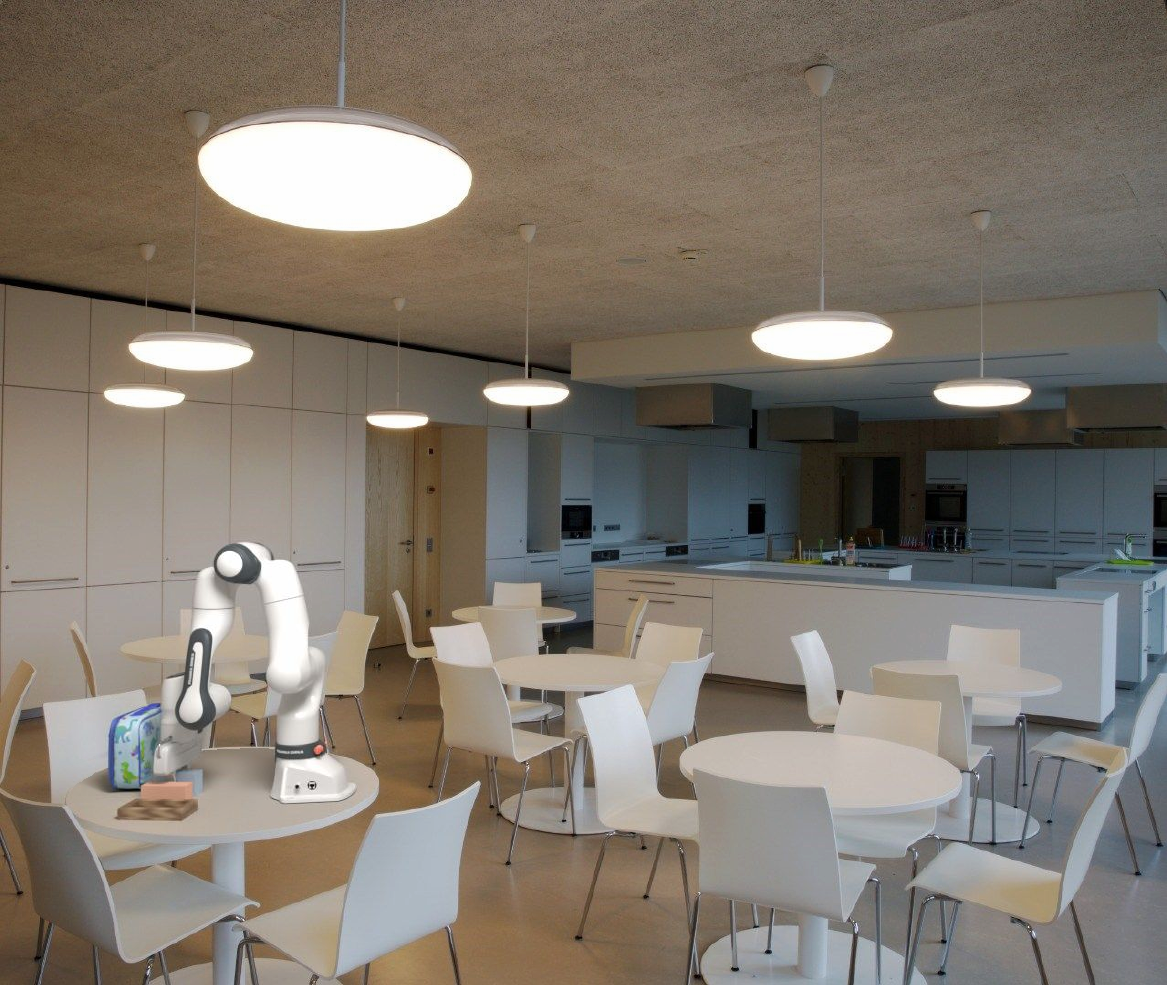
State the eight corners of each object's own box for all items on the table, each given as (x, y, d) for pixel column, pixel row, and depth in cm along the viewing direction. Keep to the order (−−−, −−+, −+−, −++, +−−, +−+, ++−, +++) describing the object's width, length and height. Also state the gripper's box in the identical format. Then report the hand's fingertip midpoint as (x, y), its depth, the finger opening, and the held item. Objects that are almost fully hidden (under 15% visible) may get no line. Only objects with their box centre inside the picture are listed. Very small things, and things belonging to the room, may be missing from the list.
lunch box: (142, 769, 278) (142, 698, 279) (179, 768, 279) (179, 698, 279) (102, 795, 252) (102, 717, 253) (142, 794, 253) (143, 716, 253)
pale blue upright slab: (202, 791, 255) (202, 769, 255) (194, 795, 251) (194, 773, 251) (161, 790, 256) (161, 768, 256) (153, 794, 252) (153, 772, 253)
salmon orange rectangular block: (192, 800, 247) (192, 781, 247) (185, 805, 243) (185, 786, 243) (148, 800, 248) (148, 781, 248) (140, 805, 244) (140, 785, 244)
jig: (197, 809, 239) (197, 799, 239) (181, 820, 231) (181, 809, 231) (135, 808, 240) (135, 798, 240) (117, 819, 232) (117, 808, 232)
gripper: (170, 741, 243) (170, 794, 243) (206, 724, 264) (206, 773, 264) (146, 741, 244) (146, 794, 244) (184, 723, 264) (184, 772, 264)
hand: (178, 783), depth 254 cm, fingers closed on pale blue upright slab, 4 cm apart
